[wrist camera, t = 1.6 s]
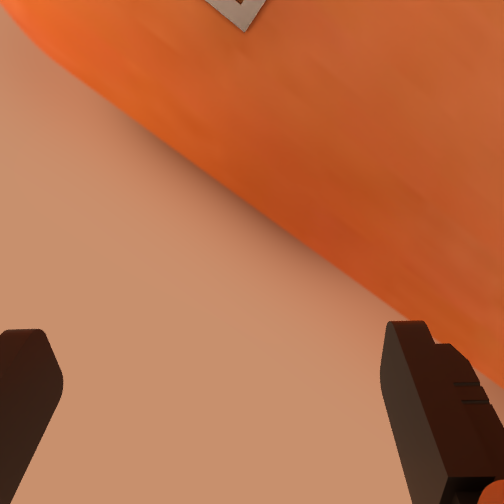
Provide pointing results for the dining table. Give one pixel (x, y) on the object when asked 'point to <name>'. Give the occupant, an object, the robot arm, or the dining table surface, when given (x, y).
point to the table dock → (238, 11)
